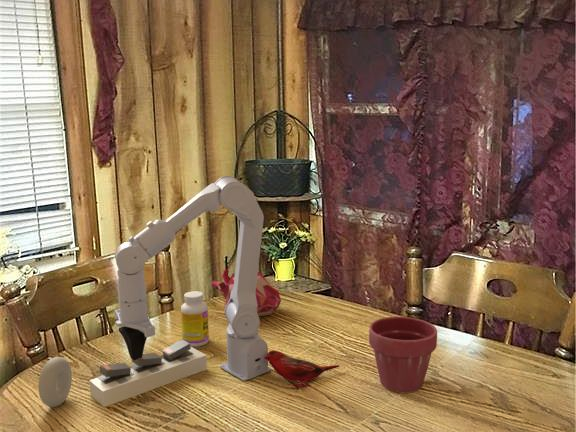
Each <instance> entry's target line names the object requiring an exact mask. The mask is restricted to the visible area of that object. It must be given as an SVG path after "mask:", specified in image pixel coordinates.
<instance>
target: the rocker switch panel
mask: <svg viewBox="0 0 576 432" xmlns="http://www.w3.org/2000/svg"><path fill="white" fill-rule="evenodd" d="M160 356H161V357H162V361H161V364H153V365H145V366H138V365H136V364H135V363H134V364H132V365H129V367H130V368H131V371H130V374H127V375H119V376H111V377H105V376H104V375H103V374H101V375H99V376H97V377H95V378H92V379H89V382H88V383H89V391H90V396H91V397H92V398H93V400H95V401H97V402H98V404H100V405H101V406H102V407H103V408H106V407H108V406H111V405H113V404H117V403H119V402H121V401H122V402H123V401H125V400H128V399H130V398H133V397H136V396H138V395H142V394H144V393H147V392H149V391H152V390H155V389H157V388H161V387H163V386H166V385H168V384H171V383H174V382H177V381H179V380H183V379H185V378H187V377H190V376H192V375H195V374H197V373H198V374H199V373H201V372H204V371H206V370H208V360H207V354H205V353H203V352H201V351H200V350H198V349H196V348H195V347H191V349H190V350H188V351H186V352H184V353H183V354H181V355H179V356H177V357H176V358H174V359H172V360H169V359H168V358H166V357H165V356H163V354H162V355H160Z"/></svg>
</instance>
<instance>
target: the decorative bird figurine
mask: <svg viewBox="0 0 576 432" xmlns="http://www.w3.org/2000/svg"><path fill="white" fill-rule="evenodd" d="M263 359H267V360H268V364H269V365H270V366H271V368H273V369H274V371H275V373H276V374H278V376H280V377H281V378H283V379H285V380H288V381H289V382H294V383H292V384H291V383H287V384H286V385H287V386H293V387H298V388H299V387H307V386H311V385H310V384H309V383H307V382H308V381H311V380H314V379H317V378H318V377H319V376H320V375H321V374H323V373H325V372H328V371H330V370H333V369H334V370H335V369H337V368H339V367H340V365H336V364H335V365H325V366H320V365H318V364H316V363H313V362H310V361H307V360H304V359H298V358H294V357H291V356H288V355H286V354H285V353H283V352H281V351H278V350H270V351H268V354H267V356H265V357H264V358H263Z"/></svg>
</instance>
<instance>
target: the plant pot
mask: <svg viewBox="0 0 576 432" xmlns="http://www.w3.org/2000/svg"><path fill="white" fill-rule="evenodd" d="M368 343H369V345H370V347H371V348H372V349H373V352H374V359H375V364H376V367H377V372H378V376H379V381H380V384H381V385H382V386H383V388H385V389H387V390H389V391H391V392H394V393H395V392H396V393H403V394H404V393H405V394H407V393H413V392H417V391H419V390H421V389H422V387H423V385H424V382H425V378H426V375H427V371H428V368H429V364H430V360H431V355H432V353H433V352H434V351H435V350H436V349H437V346H438V345H437V344H438V330H437V327H436V326H435V325H433V324H432V323H430V322H428V321H426V320H423V319H419V318H415V317H408V316H388V317H381V318H379V319H376V320H374V321H372V323H371V324H370V325H369V330H368Z"/></svg>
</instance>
